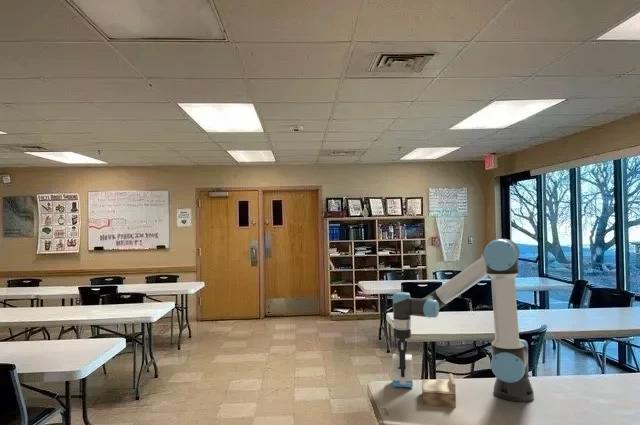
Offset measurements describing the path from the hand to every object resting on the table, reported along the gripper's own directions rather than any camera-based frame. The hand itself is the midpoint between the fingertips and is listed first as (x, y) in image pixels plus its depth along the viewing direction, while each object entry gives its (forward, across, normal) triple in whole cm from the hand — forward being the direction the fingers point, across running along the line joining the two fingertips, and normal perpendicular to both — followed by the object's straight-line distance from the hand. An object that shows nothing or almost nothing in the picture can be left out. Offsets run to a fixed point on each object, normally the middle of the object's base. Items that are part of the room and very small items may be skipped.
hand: (402, 380), depth 185 cm
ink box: (+2, 0, 0) cm, 2 cm away
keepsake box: (+3, +14, +14) cm, 20 cm away
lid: (-3, +14, +14) cm, 20 cm away
